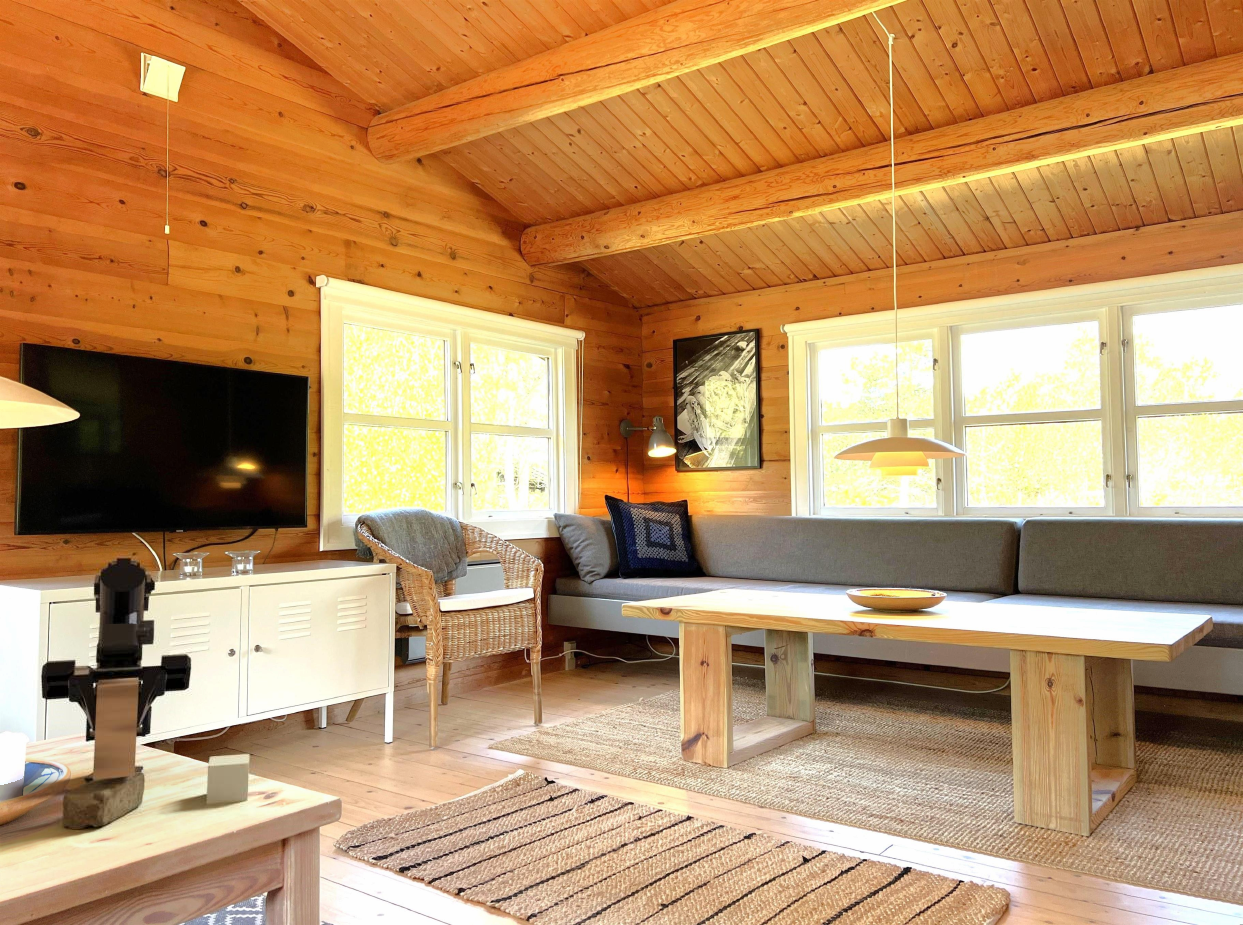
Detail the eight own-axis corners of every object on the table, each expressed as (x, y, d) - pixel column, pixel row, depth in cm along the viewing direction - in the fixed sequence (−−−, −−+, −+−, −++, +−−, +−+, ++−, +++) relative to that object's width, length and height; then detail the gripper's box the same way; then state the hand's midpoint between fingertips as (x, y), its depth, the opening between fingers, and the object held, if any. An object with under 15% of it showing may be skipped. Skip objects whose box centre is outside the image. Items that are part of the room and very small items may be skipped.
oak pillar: (94, 770, 130) (98, 680, 131) (134, 766, 133) (138, 677, 133) (92, 779, 126) (97, 686, 127) (134, 775, 128) (138, 683, 129)
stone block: (146, 805, 134) (148, 770, 135) (100, 832, 123) (101, 794, 123) (107, 804, 134) (108, 769, 135) (57, 831, 123) (58, 793, 123)
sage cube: (208, 793, 140) (210, 756, 140) (248, 790, 142) (249, 754, 142) (206, 804, 135) (208, 766, 135) (247, 801, 137) (248, 763, 137)
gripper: (45, 603, 130) (34, 698, 119) (193, 599, 138) (194, 688, 128) (47, 651, 136) (37, 746, 126) (188, 645, 145) (189, 733, 135)
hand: (116, 727), depth 128 cm, fingers closed on oak pillar, 5 cm apart
